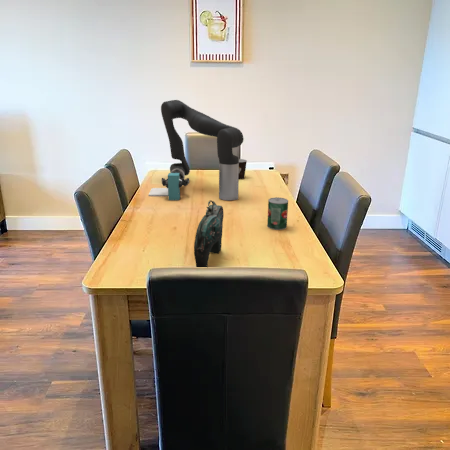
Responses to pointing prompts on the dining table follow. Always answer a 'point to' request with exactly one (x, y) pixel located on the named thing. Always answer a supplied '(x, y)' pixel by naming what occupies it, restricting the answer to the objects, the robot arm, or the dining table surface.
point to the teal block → (173, 186)
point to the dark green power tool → (209, 234)
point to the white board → (158, 192)
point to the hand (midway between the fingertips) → (173, 185)
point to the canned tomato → (277, 213)
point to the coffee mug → (242, 168)
